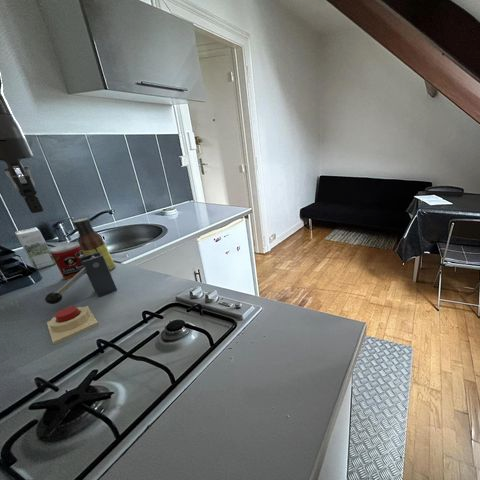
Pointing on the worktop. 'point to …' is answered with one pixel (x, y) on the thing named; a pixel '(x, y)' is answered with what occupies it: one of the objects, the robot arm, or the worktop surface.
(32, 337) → the worktop surface
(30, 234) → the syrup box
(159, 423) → the worktop surface
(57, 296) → the lever
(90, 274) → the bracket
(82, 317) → the button box
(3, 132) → the robot arm
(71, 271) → the canned food
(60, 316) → the button
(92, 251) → the sauce bottle
